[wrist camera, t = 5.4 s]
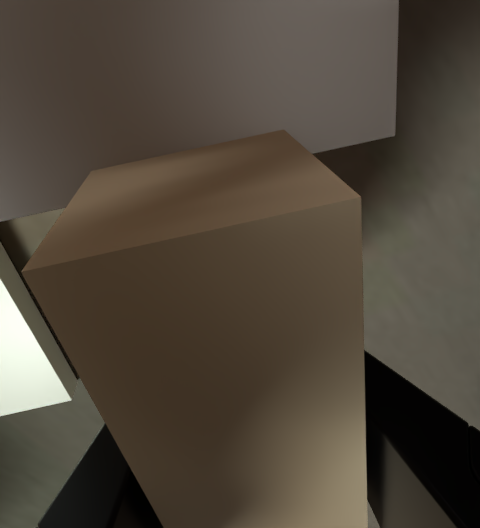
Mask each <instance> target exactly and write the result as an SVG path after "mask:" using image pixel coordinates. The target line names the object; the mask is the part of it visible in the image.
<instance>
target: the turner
mask: <svg viewBox="0 0 480 528" xmlns="http://www.w3.org/2000/svg"><path fill="white" fill-rule="evenodd" d="M398 14H399V0H0V222H1V221H6V220H11V219H15V218H20V217H24V216H29V215H34V214H38V213H43V212H47V211H52V210H57V209H61V208H65V209H64V211H63V212H62V214H61V215H60V217H59V218H58V219H57V221H56V222H55V224H54V225H53V227H52V228H51V229H50V231H49V232H48V234H47V235H46V237H45V238H44V240H43V241H42V242H41V244H40V245H39V247H38V248H37V250H36V251H35V252H34V254H33V255H32V257H31V258H30V260H29V261H28V262H27V264H26V265H25V267H24V268H23V270H22V271H21V273H22V275H23V277H24V278H25V280H26V282H27V284H28V286H29V287H30V289H31V291H32V293H33V295H34V296H35V298H36V300H37V302H38V303H39V305H40V307H41V309H42V311H43V312H44V314H45V316H46V318H47V320H48V321H49V323H50V325H51V327H52V329H53V330H54V332H55V334H56V336H57V338H58V339H59V341H60V343H61V345H62V346H63V348H64V350H65V352H66V354H67V355H68V357H69V359H70V361H71V363H72V364H73V366H74V368H75V370H76V372H77V373H78V375H79V377H80V379H81V380H82V382H83V384H84V386H85V388H86V389H87V391H88V393H89V395H90V397H91V398H92V400H93V402H94V404H95V406H96V407H97V409H98V411H99V413H100V415H101V416H102V418H103V420H104V422H105V423H106V425H107V427H108V429H109V431H110V432H111V434H112V436H113V438H114V440H115V441H116V443H117V445H118V447H119V449H120V450H121V452H122V454H123V456H124V458H125V459H126V461H127V463H128V465H129V466H130V468H131V470H132V472H133V474H134V475H135V477H136V479H137V481H138V483H139V484H140V486H141V488H142V490H143V492H144V493H145V495H146V497H147V499H148V501H149V502H150V504H151V506H152V508H153V509H154V511H155V513H156V515H157V517H158V518H159V520H160V522H161V524H162V526H163V527H164V528H368V523H367V472H366V420H365V369H364V317H363V266H362V214H361V196H360V195H358V194H357V193H356V192H355V191H354V190H353V189H352V188H350V187H349V186H348V185H347V184H346V183H345V182H344V181H342V180H341V179H340V178H339V177H338V176H337V175H336V174H334V173H333V172H332V171H331V170H330V169H329V168H327V167H326V166H325V165H324V164H323V163H322V162H321V161H319V160H318V159H317V158H316V157H315V156H314V155H313V154H314V153H318V152H323V151H328V150H332V149H337V148H341V147H346V146H351V145H355V144H360V143H364V142H369V141H374V140H378V139H383V138H387V137H392V136H395V128H396V90H397V52H398Z"/></svg>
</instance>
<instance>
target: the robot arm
mask: <svg viewBox="0 0 480 528" xmlns="http://www.w3.org/2000/svg"><path fill="white" fill-rule="evenodd" d="M364 369H365V420H366V472H367V500H368V502H369V504H370V506H371V508H372V510H373V513H374V515H375V517H376V519H377V521H378V523H379V526H380V528H480V431H479V430H478V429H476V428H475V427H473V426H469V425H468V423H467V422H466V421H465V420H463V419H462V418H460V417H459V416H458V415H456V414H455V413H453V412H452V411H450V410H449V409H448V408H446V407H445V406H443V405H442V404H440V403H439V402H438V401H436V400H435V399H433V398H432V397H430V396H429V395H428V394H426V393H425V392H423V391H422V390H421V389H419V388H418V387H416V386H415V385H413V384H412V383H411V382H409V381H408V380H406V379H405V378H403V377H402V376H401V375H399V374H398V373H396V372H395V371H393V370H392V369H391V368H389V367H388V366H386V365H385V364H384V363H382V362H381V361H379V360H378V359H376V358H375V357H374V356H372V355H371V354H369V353H368V352H366V351H365V350H364ZM38 527H39V528H164V527H163V526H162V524H161V522H160V520H159V518H158V517H157V515H156V513H155V511H154V509H153V508H152V506H151V504H150V502H149V501H148V499H147V497H146V495H145V493H144V492H143V490H142V488H141V486H140V484H139V483H138V481H137V479H136V477H135V475H134V474H133V472H132V470H131V468H130V466H129V465H128V463H127V461H126V459H125V458H124V456H123V454H122V452H121V450H120V449H119V447H118V445H117V443H116V441H115V440H114V438H113V436H112V434H111V432H110V431H109V429H108V427H107V425H106V423H104V425H103V426H102V428H101V429H100V431H99V432H98V434H97V435H96V437H95V438H94V440H93V441H92V443H91V444H90V446H89V447H88V449H87V450H86V452H85V453H84V455H83V456H82V458H81V459H80V461H79V462H78V464H77V465H76V467H75V468H74V470H73V471H72V473H71V475H70V476H69V478H68V479H67V481H66V482H65V484H64V485H63V487H62V488H61V490H60V491H59V493H58V494H57V496H56V497H55V499H54V500H53V502H52V503H51V505H50V506H49V508H48V509H47V511H46V512H45V514H44V515H43V517H42V518H41V520H40V521H39V523H38ZM38 527H37V528H38Z"/></svg>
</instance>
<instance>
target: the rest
mask: <svg viewBox="0 0 480 528" xmlns="http://www.w3.org/2000/svg"><path fill="white" fill-rule="evenodd" d="M77 382H78V381H77V379H76V377H75V375H74V373H73V372H72V370H71V368H70V366H69V364H68V363H67V361H66V359H65V357H64V355H63V354H62V352H61V350H60V348H59V346H58V345H57V343H56V341H55V339H54V337H53V336H52V334H51V332H50V330H49V328H48V327H47V325H46V323H45V321H44V319H43V318H42V316H41V314H40V312H39V310H38V309H37V307H36V305H35V303H34V301H33V300H32V298H31V296H30V294H29V292H28V291H27V289H26V287H25V285H24V283H23V282H22V280H21V278H20V276H19V274H18V273H17V271H16V269H15V267H14V265H13V264H12V262H11V260H10V258H9V256H8V255H7V253H6V251H5V249H4V247H3V246H2V244H1V242H0V416H3V415H8V414H12V413H17V412H21V411H26V410H30V409H35V408H39V407H44V406H48V405H53V404H57V403H62V402H66V401H71V400H72V398H73V395H74V391H75V388H76V385H77Z"/></svg>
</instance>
